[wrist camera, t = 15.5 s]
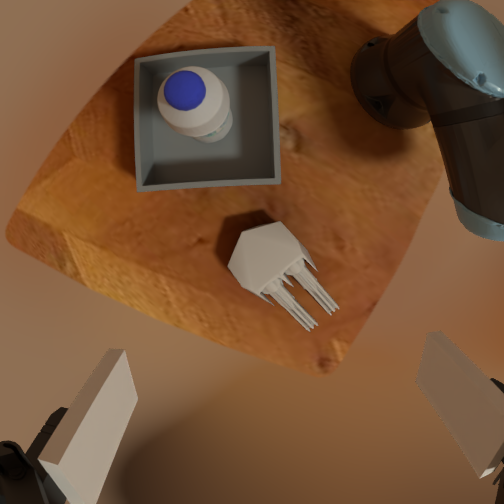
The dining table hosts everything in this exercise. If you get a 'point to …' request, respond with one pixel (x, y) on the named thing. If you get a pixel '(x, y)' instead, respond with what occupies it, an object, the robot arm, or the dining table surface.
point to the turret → (277, 269)
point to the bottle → (196, 104)
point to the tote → (220, 152)
